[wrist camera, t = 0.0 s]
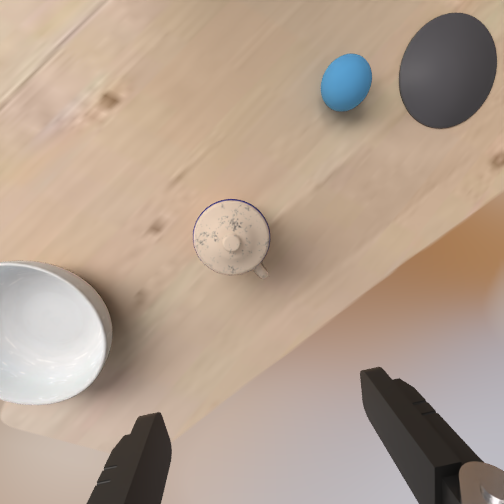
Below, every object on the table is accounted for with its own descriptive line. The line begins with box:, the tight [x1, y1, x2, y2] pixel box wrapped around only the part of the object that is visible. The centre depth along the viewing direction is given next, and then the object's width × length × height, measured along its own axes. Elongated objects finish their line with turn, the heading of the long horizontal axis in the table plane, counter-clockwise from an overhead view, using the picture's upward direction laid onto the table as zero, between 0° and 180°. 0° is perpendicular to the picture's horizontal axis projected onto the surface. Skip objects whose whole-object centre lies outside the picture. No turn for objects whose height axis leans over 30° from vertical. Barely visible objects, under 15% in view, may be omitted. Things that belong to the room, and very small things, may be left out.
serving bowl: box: [0, 261, 112, 405], centre depth 35 cm, size 21×21×7 cm
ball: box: [321, 54, 372, 111], centre depth 31 cm, size 6×6×6 cm
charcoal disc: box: [399, 13, 497, 128], centre depth 34 cm, size 14×14×1 cm
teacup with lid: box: [193, 199, 270, 279], centre depth 32 cm, size 12×9×12 cm
